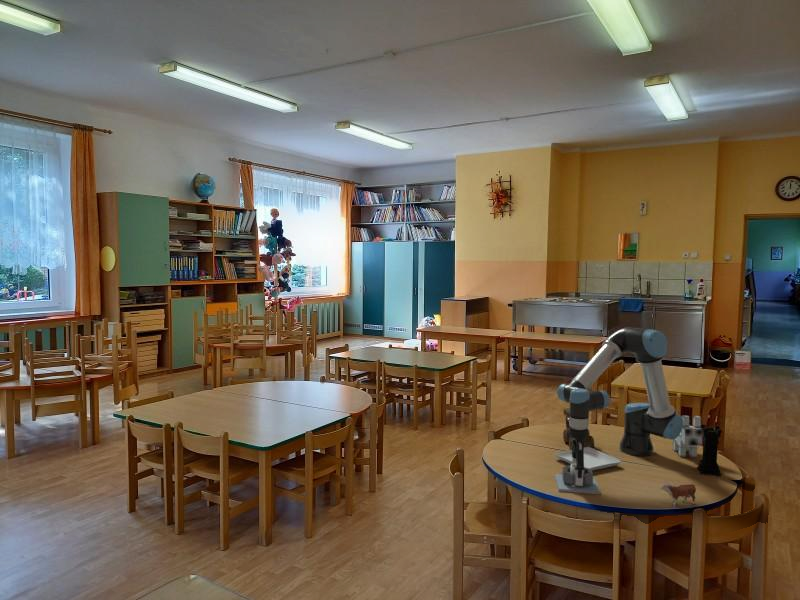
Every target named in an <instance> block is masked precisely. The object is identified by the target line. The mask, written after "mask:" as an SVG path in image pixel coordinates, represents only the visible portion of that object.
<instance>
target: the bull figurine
mask: <svg viewBox="0 0 800 600" xmlns="http://www.w3.org/2000/svg"><path fill="white" fill-rule="evenodd" d="M660 489H661V490H662V491H663V490H664V491H665V492H667V493H668V495H669V496H670V497H671V498H672V499H673V500H672V501H671V503H672V502H673V504H672V506H673V505H675V506H676V505H677V501H678V500H679V497H680V498H681V497H682V500H681V501H682V502H683V503H685V502H686V501H687V499H690V498H691V499H692V500H691V502H690V504H691V505H694V504H695V499H696V496H695V494H696V491H697V488H696V486H695V484H693V483H691V484H674V483H669V482H667V481H666V482H665V483H664V484H663V485H662V486H661V487H660Z"/></svg>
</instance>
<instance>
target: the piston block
mask: <svg viewBox="0 0 800 600" xmlns="http://www.w3.org/2000/svg"><path fill="white" fill-rule="evenodd" d="M569 465H570V472H571V473H574V474H576V470H575V468H577V467H576V463H573V464H569ZM579 467H580V466H579ZM583 474H584V470H583ZM554 478H555V483H556V486H557V487H556V488H557V491H558V492H560V493H561V492H564V493H577V494H588V495H589V494H590V495H591V494H592V495H602V494H601V490H600V487H599V485H598V482H597V480H596V478H595V476H593V483H592V484H589V485H586V486H579V485H572V484H569V483H566V482H564V481H563V478H562V473H561V474H559V473H554Z"/></svg>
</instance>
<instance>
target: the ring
mask: <svg viewBox="0 0 800 600" xmlns="http://www.w3.org/2000/svg"><path fill="white" fill-rule="evenodd" d="M570 465H571V464H569V465H566V466H563V467H561V469H562V471H561V474H562V478H563V481H564V482H566V483H569V484H572V485H575V483H576V474H574V473H571V472H570ZM593 472H594V471H592V470H591V469H589V468H586V467H584V474H583V486H586V485H589V484H592V483H593V477H594V473H593Z"/></svg>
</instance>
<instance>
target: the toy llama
mask: <svg viewBox="0 0 800 600" xmlns="http://www.w3.org/2000/svg"><path fill="white" fill-rule="evenodd" d="M681 417H682V418H683V428H682V431H681V433H680V434H679V436H678V437H677V438H675V439H672V451H673V452H675V453H676V452H677V453H678V454H677V455H678V457H680V458H686V456H687V453H688V455H689V456H688V457H690V458H693V459H694V458H695V459H696V458H698V447H699V446H702V447H703V439H702V437H703V433H702V432H701V429H702V428H701V427H700V425H701V424H702V421H701V420H702V417H701V416H700V415H693V417H692V425H690V416H689V415H684V414H682V415H681Z"/></svg>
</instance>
